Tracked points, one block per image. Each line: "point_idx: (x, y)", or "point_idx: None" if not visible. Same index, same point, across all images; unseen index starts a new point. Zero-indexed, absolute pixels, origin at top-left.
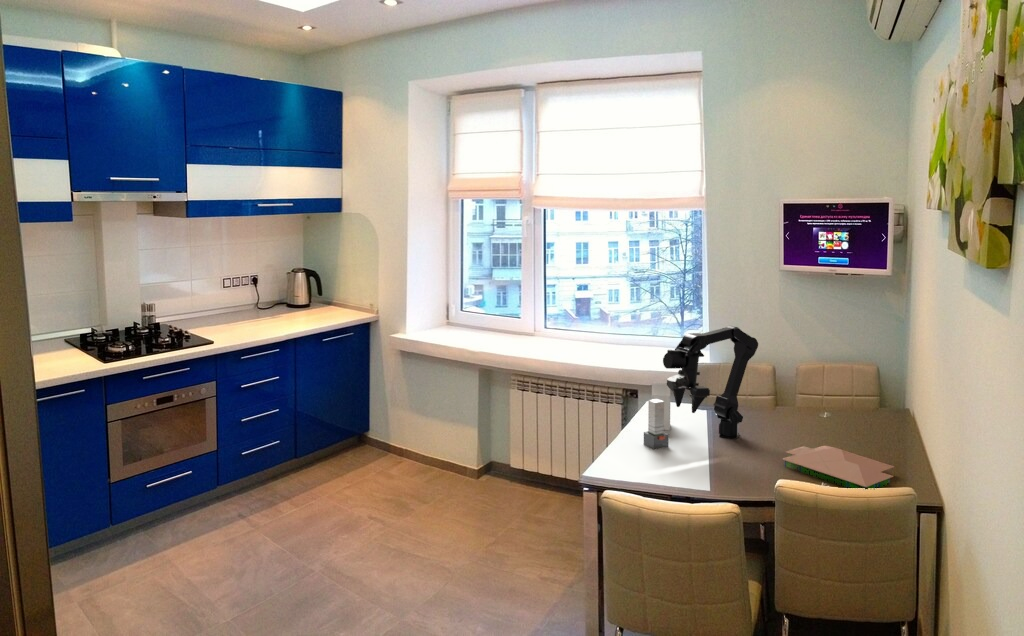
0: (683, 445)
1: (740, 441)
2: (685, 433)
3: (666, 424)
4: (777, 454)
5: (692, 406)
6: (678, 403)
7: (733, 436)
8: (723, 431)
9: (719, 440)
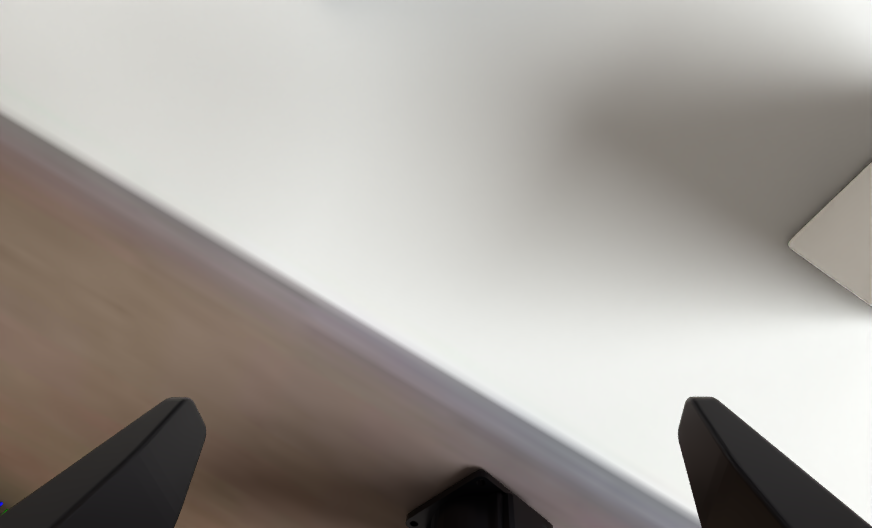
0: (431, 159)
1: (362, 508)
2: (684, 341)
3: (869, 249)
4: None
5: (48, 505)
6: (713, 478)
7: (431, 523)
8: (475, 520)
9: (426, 435)
